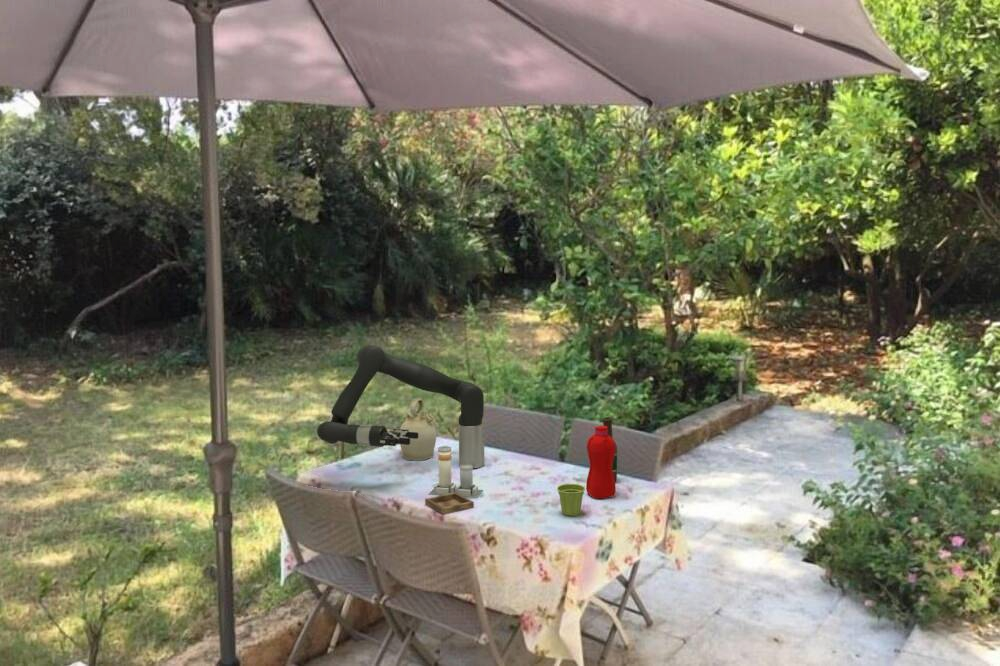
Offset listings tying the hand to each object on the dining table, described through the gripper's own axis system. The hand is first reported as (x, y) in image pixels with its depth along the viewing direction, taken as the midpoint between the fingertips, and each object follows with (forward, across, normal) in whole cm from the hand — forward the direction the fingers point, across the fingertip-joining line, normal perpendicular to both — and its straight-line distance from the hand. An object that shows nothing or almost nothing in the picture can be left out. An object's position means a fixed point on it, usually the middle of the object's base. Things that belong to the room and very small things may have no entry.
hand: (414, 438), depth 291 cm
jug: (-14, +42, +20) cm, 49 cm away
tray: (+17, -14, +20) cm, 30 cm away
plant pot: (+58, -10, +19) cm, 62 cm away
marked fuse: (+12, 0, +19) cm, 22 cm away
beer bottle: (+66, +27, +19) cm, 74 cm away
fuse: (+19, 0, +19) cm, 27 cm away
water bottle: (+65, +11, +19) cm, 69 cm away
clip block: (+15, 0, +20) cm, 25 cm away
